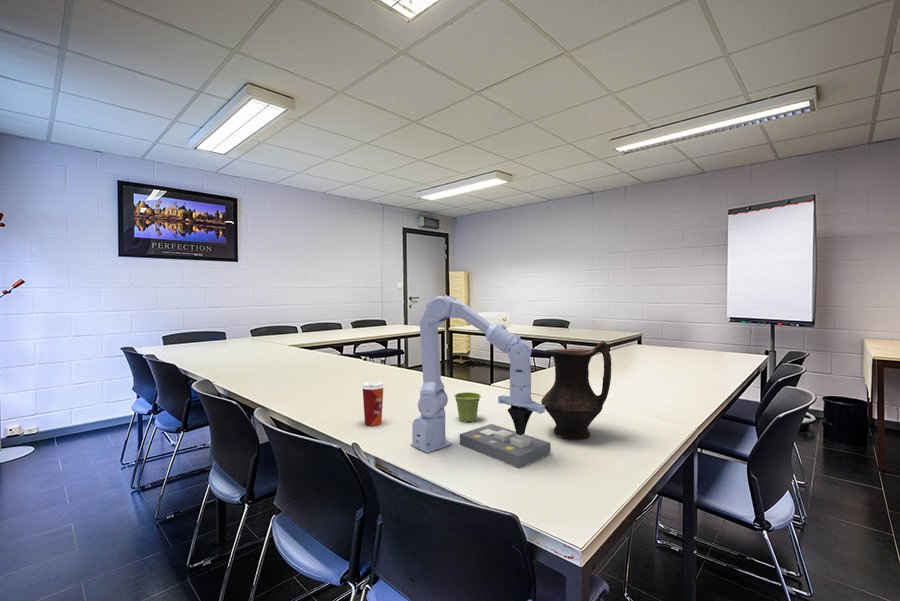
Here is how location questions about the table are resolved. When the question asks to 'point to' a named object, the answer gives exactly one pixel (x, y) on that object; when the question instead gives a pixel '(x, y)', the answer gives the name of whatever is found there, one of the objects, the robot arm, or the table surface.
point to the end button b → (520, 441)
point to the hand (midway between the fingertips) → (520, 433)
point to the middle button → (503, 436)
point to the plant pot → (467, 406)
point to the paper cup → (373, 402)
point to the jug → (576, 391)
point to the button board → (505, 446)
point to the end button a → (487, 432)
